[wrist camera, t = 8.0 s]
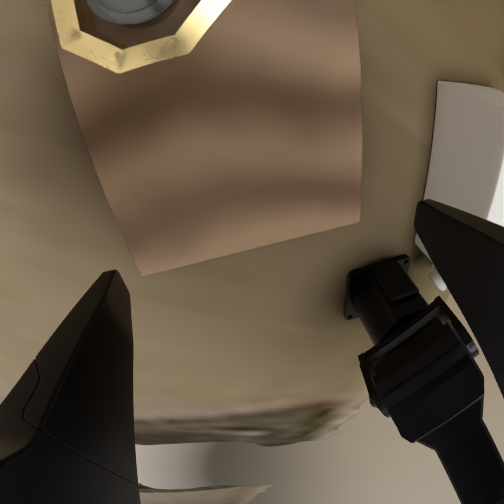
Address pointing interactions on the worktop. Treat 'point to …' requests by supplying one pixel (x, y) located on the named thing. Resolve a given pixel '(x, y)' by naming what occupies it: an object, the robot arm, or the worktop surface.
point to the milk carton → (467, 154)
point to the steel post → (133, 11)
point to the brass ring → (117, 54)
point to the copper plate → (227, 130)
